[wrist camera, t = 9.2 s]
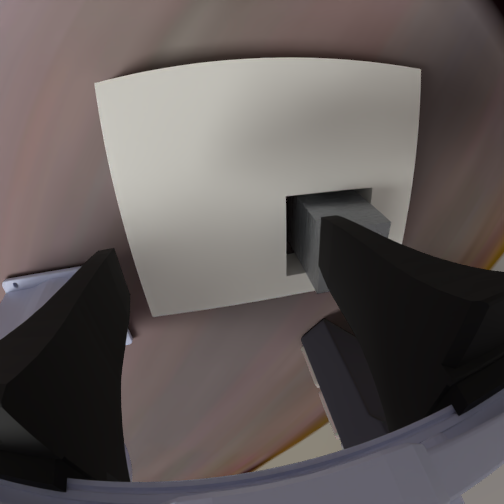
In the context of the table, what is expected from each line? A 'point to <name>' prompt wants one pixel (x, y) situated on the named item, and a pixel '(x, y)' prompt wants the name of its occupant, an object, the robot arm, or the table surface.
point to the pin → (309, 222)
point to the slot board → (249, 166)
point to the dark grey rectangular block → (344, 384)
